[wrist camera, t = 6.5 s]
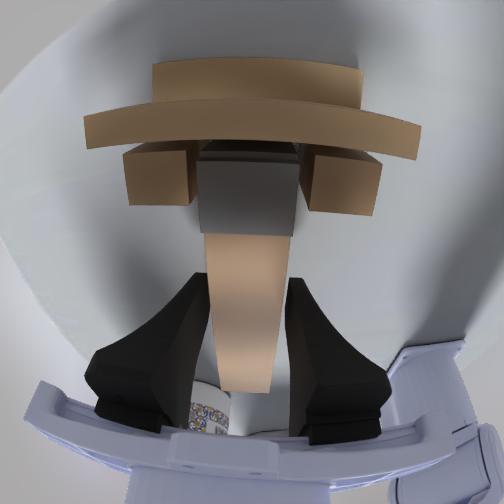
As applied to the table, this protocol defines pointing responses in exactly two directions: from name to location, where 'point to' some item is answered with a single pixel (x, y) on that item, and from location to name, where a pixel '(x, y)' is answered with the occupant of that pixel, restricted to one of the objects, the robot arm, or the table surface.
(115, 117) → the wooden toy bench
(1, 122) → the table surface
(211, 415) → the bath foam
